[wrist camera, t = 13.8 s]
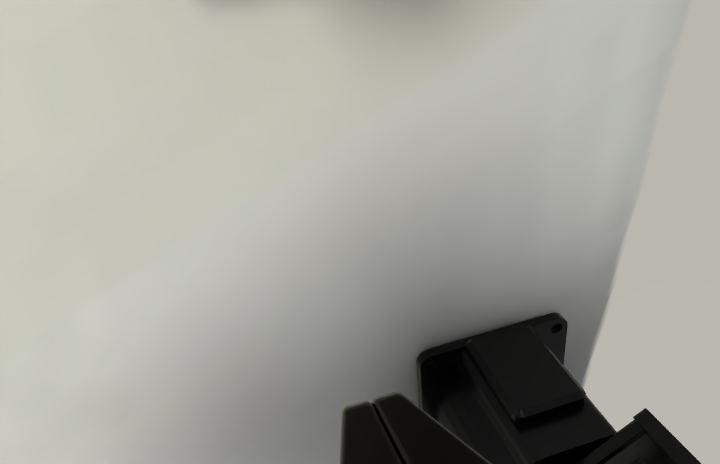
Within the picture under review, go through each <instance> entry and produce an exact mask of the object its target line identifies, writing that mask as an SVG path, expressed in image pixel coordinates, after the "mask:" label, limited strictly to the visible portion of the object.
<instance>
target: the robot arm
mask: <svg viewBox="0 0 720 464" xmlns="http://www.w3.org/2000/svg"><path fill="white" fill-rule="evenodd" d="M566 334H567V321H566V320H565V319H564V318H563V317H562V316H561V315H560V314H559V313H551V314H548V315H545V316H541V317H538V318H534V319H531V320H527V321H524V322H521V323H517V324H514V325H510V326H507V327H504V328H500V329H497V330H493V331H490V332H486V333H483V334H480V335H476V336H473V337H469V338H466V339H462V340H459V341H456V342H452V343H449V344H445V345H442V346H438V347H435V348H432V349H428V350H426V351H424V352H422V353H421V354H420V355H419V356H418V358H417V378H418V394H419V407H418V406H417V405H416V404H414V403H413V402H412V401H410V400H409V399H408V398H407V397H405V396H404V395H403V394H401V393H399V392H393V393H390V394H387V395H383V396H380V397H377V398H375V399H373V400H372V403H370V402H369V401H364V402H360V403H357V404H354V405H350V406H347V407H345V408H344V409H343V412H342V429H341V452H340V464H701V463H700V462H699V461H698V460H697V459H696V458H695V457H694V456H693V455H692V454H691V453H690V452H689V451H688V450H687V449H686V448H685V447H684V446H683V445H682V444H681V443H680V442H679V441H678V440H677V439H676V438H675V437H674V436H673V435H672V434H671V433H670V432H669V431H668V430H667V429H666V428H665V427H664V426H663V425H662V424H661V423H660V422H659V421H658V420H657V419H656V418H655V417H654V416H653V415H652V414H651V413H650V412H649V411H648V410H647V409H646V408H645V409H644V410H642V411H641V412H640V413H638V414H637V415H635V416H634V417H633V418H634V419H635V420H633V421H632V422H631V423H629V424H628V425H626V426H625V427H624V428H622V429H621V430H620V431H618V432H616V431H615V430H614V428H613V427H612V426H611V425H610V424H609V422H608V421H607V420H606V419H605V418H604V416H603V415H602V414H601V413H600V412H599V410H598V409H597V408H596V407H595V406H594V404H593V403H592V402H591V401H590V400H589V398H588V397H587V396H586V393H585V391H584V389H583V388H582V387H581V386H580V385H579V383H578V382H577V381H576V380H575V379H574V377H573V376H572V375H571V374H570V373H569V372H568V370H567V369H566V368H565V367H564V366H563V364H564V354H565V344H566ZM430 361H432V362H431V363H429V362H430ZM428 363H429V364H428Z"/></svg>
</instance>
